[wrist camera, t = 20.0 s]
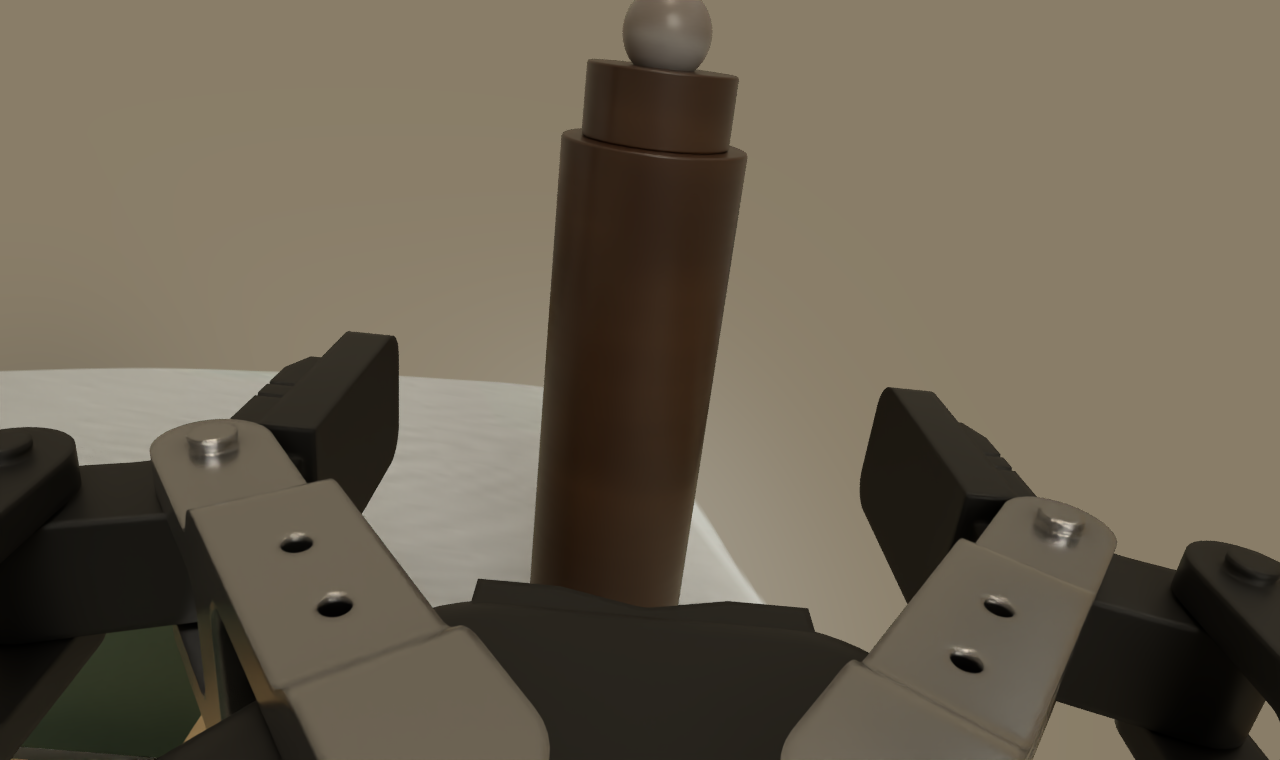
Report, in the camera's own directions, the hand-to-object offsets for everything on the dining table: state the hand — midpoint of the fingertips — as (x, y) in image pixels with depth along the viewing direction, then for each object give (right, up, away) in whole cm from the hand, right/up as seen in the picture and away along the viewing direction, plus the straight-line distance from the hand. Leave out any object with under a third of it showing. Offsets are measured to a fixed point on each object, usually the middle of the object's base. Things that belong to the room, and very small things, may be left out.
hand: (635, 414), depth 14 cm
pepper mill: (-1, -10, +15) cm, 18 cm away
